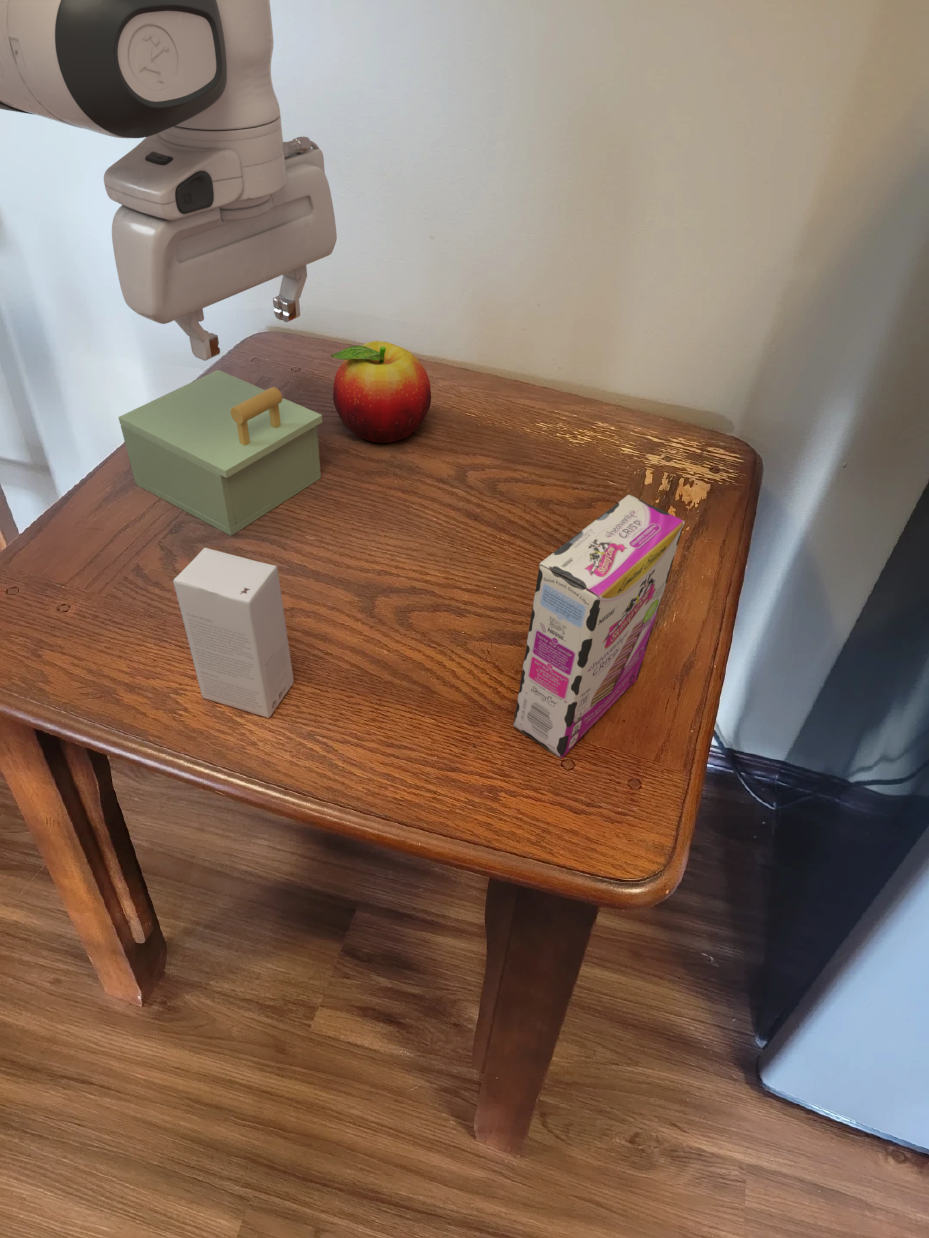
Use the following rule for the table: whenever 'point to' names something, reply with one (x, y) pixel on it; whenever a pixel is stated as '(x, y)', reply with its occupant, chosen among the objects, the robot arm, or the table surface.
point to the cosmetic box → (236, 630)
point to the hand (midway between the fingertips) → (248, 336)
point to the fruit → (381, 391)
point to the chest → (225, 480)
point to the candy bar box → (593, 621)
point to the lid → (221, 422)
